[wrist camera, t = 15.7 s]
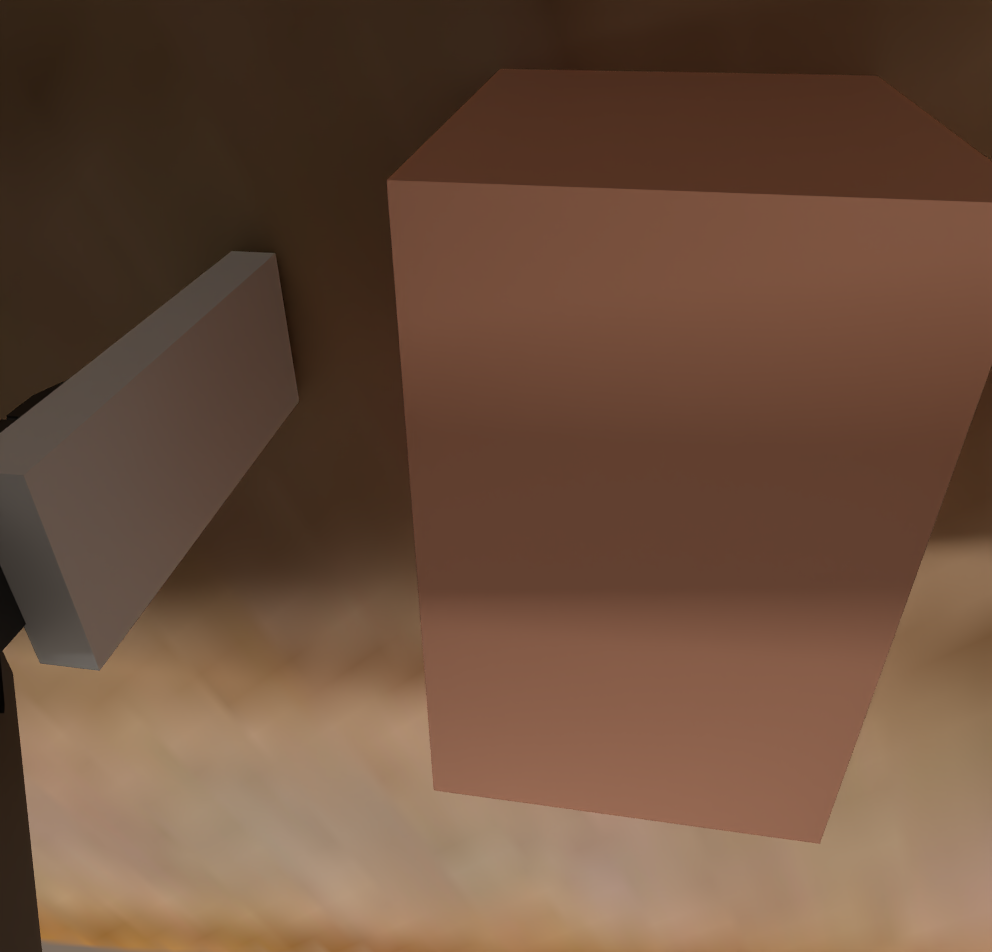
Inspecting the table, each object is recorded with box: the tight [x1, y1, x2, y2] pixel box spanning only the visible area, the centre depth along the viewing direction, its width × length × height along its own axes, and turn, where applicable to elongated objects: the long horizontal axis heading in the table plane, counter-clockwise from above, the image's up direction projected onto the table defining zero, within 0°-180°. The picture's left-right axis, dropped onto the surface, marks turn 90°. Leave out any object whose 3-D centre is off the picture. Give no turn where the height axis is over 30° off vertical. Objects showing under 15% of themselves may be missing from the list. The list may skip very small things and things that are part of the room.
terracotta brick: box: [387, 69, 992, 844], centre depth 11 cm, size 5×8×6 cm, turn 0°
